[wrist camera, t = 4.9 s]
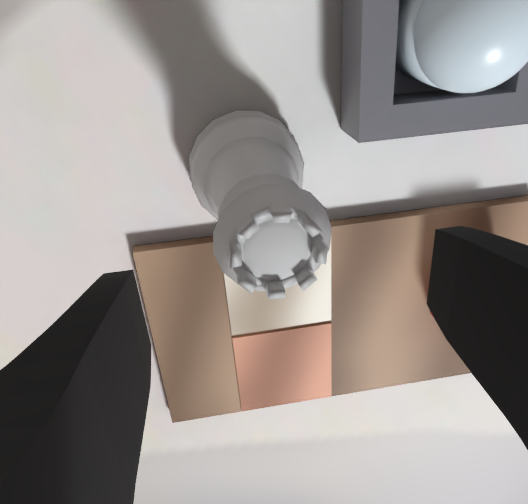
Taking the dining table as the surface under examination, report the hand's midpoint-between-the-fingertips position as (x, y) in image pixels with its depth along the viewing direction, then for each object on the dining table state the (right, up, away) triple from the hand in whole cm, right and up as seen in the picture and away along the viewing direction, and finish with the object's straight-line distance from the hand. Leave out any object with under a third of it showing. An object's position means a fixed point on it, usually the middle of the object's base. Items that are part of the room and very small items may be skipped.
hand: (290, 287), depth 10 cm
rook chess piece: (-1, +4, +8) cm, 10 cm away
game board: (+3, -2, +12) cm, 13 cm away
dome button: (+6, +10, +7) cm, 13 cm away
